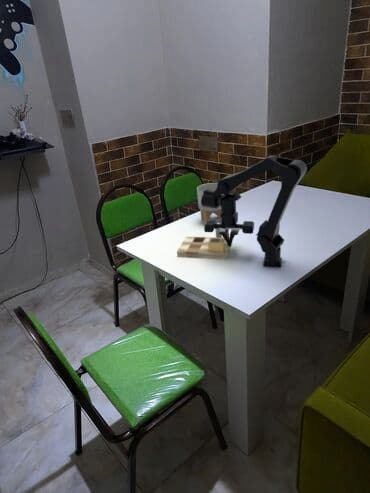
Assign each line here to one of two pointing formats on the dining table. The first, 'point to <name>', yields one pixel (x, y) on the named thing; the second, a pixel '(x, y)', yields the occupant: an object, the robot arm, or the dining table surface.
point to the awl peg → (218, 231)
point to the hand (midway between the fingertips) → (229, 246)
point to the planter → (207, 211)
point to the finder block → (216, 244)
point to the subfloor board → (200, 248)
